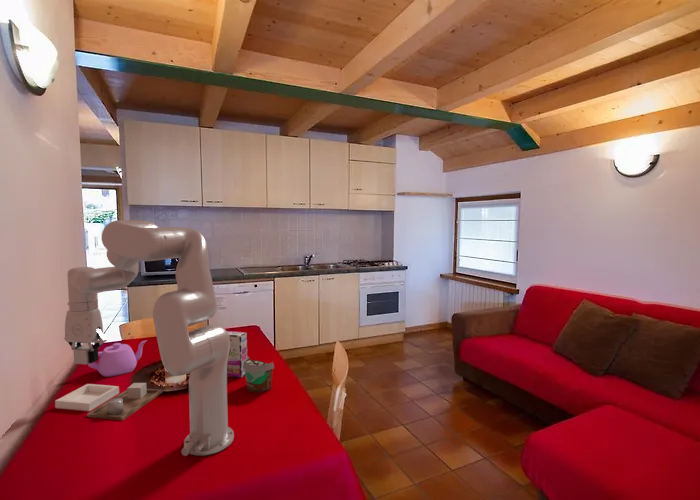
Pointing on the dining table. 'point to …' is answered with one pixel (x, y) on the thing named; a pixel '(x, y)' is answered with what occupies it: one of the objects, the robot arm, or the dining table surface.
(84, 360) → the stone cube
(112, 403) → the pebble round
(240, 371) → the candy bar box
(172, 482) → the dining table surface
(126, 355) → the teapot
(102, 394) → the dish
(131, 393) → the white cube
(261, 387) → the food container
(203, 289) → the robot arm
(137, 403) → the walnut tray
